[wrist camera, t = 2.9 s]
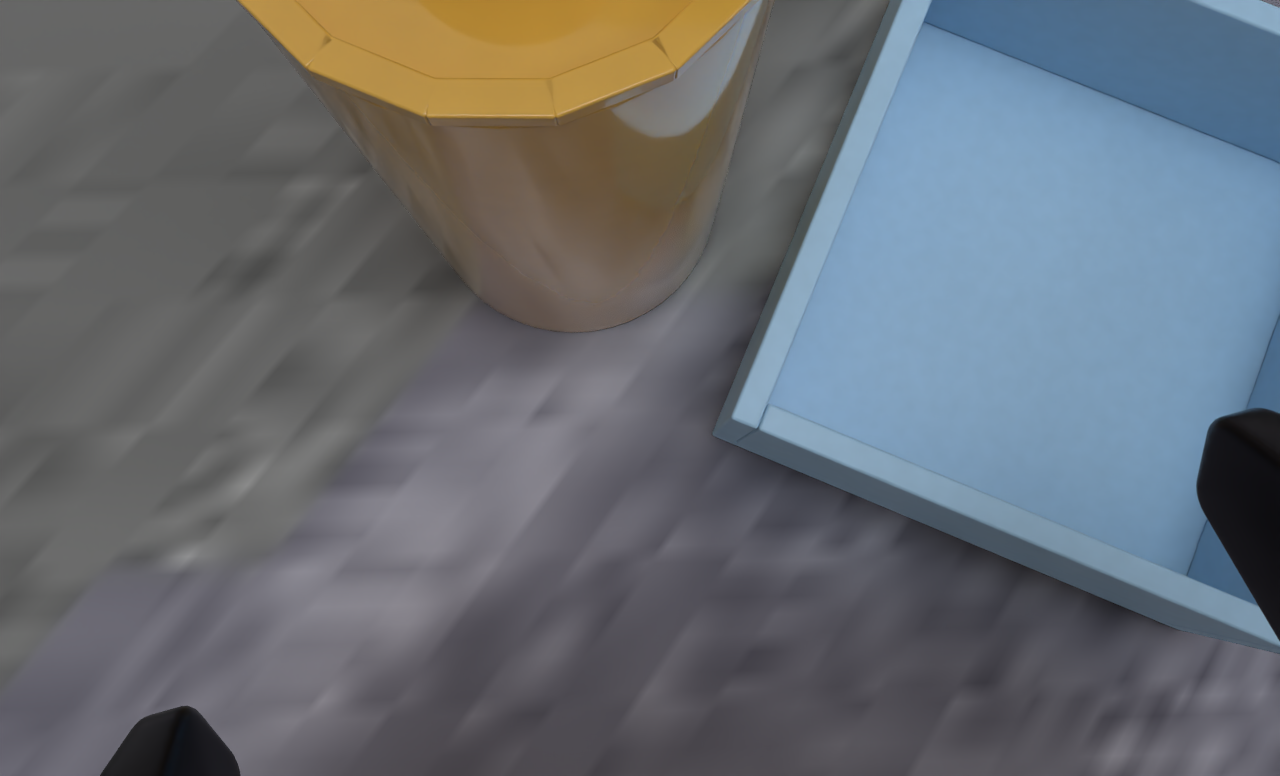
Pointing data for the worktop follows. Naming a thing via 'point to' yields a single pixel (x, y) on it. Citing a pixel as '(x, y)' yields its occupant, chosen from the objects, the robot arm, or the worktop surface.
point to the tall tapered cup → (541, 134)
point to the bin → (1040, 289)
